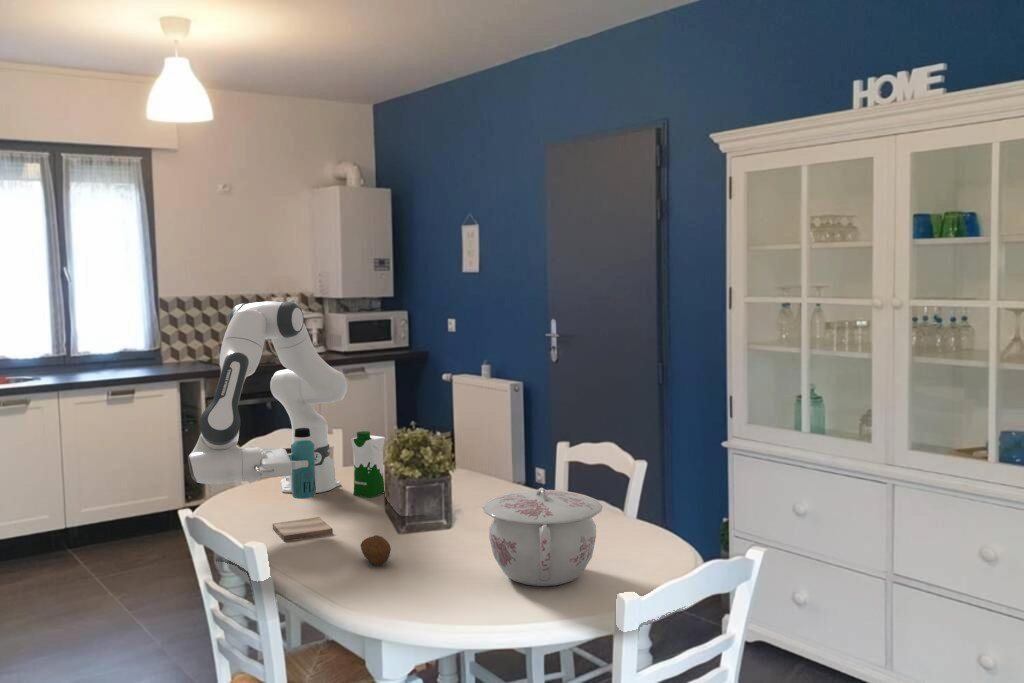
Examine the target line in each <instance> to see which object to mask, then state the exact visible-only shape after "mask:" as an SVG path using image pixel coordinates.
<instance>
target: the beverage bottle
mask: <svg viewBox="0 0 1024 683" xmlns="http://www.w3.org/2000/svg"><path fill="white" fill-rule="evenodd" d="M309 436H310V429H309V428H298V429H295V437H298V438H303V437H309ZM314 446H315V445H314V443H313V442H312V441H310V440H297V441H295V442H294V443H293V442H292V443H291V445H290V448H291V450H290V454H291V456H292V461H301V460H307V461H308V467H303V468H299V469H294V470H292V477H291V478H292V480H291V481H292V483H291V485H292V492H291V494H292V497H293V498H294V499H300V500H306V499H311V498H314V497H316V494H317V493H316V491H315V490H316V488H315V480H316V478H315V477H316V476H315V454H314V453H315V452H314Z"/></svg>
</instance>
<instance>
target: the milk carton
mask: <svg viewBox="0 0 1024 683" xmlns="http://www.w3.org/2000/svg"><path fill="white" fill-rule="evenodd" d="M385 441H386V437H385V436H380V435H379V436H377V435H372V434H371V432H370V431H368V430H367V431H365V430H363V431H358V432H356V437H353V438H350V443H351V447H352V452H353V495H354V496H358V497H363V498H367V499H371V498H374V497H377V496H380V495H383V494H384V493H383V492H384V486H385V478H384V446H385Z"/></svg>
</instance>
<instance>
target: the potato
mask: <svg viewBox="0 0 1024 683" xmlns="http://www.w3.org/2000/svg"><path fill="white" fill-rule="evenodd" d="M360 550H361V552H362V555H363V556H364V558H366V560H368V562H370V563H371V564H372V565H375V566H381V565H384V564H385V563H386V562H387V561H388V560H389V558H390V555H391V551H392V550H391V545H390V543H389V542H388V540H387V539H385V538H384V537H382V535H377V534H376V535H373V536H369V537H366V538H364V539H363V540H362V541H361V543H360Z"/></svg>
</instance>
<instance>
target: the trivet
mask: <svg viewBox="0 0 1024 683" xmlns="http://www.w3.org/2000/svg"><path fill="white" fill-rule="evenodd" d="M272 530H273V531H274V532H275V533H276V535H278V537H280V539H281V540H282V541H283V542H291V541H296V540H305V539H309V538H315V537H323V536H329V535H330V536H331V535H333V534H334V531H333V530H334V529H333V528H332V527H331V525H329V524H328V523H327V522H325V520H323V519H322V518H321V517H320V516H317V517H316V516H315V517H310V518H300V519H295V520H289V521H282V522H274V523H272Z"/></svg>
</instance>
